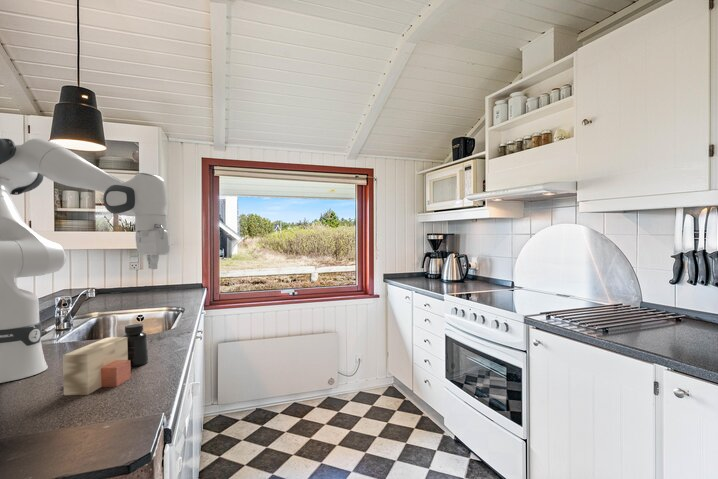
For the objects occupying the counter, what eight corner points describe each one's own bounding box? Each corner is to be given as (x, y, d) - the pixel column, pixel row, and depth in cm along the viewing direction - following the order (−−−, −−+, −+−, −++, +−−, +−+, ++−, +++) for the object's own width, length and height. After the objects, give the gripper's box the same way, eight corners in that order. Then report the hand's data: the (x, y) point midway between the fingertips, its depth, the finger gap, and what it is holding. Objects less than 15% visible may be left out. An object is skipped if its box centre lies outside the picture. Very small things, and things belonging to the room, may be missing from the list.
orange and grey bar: (130, 377, 101) (130, 359, 101) (116, 386, 95) (116, 367, 95) (79, 379, 101) (79, 361, 101) (62, 388, 95) (62, 369, 95)
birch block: (63, 395, 90) (62, 355, 90) (107, 371, 106) (106, 337, 106) (88, 394, 90) (87, 354, 90) (128, 371, 106) (127, 336, 106)
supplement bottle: (131, 360, 116) (130, 323, 116) (152, 360, 115) (151, 322, 115) (116, 368, 109) (115, 328, 109) (139, 368, 109) (138, 328, 108)
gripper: (174, 223, 109) (175, 269, 109) (153, 226, 123) (154, 267, 123) (150, 223, 104) (151, 271, 104) (131, 226, 119) (132, 268, 119)
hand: (152, 269), depth 114 cm, fingers closed
